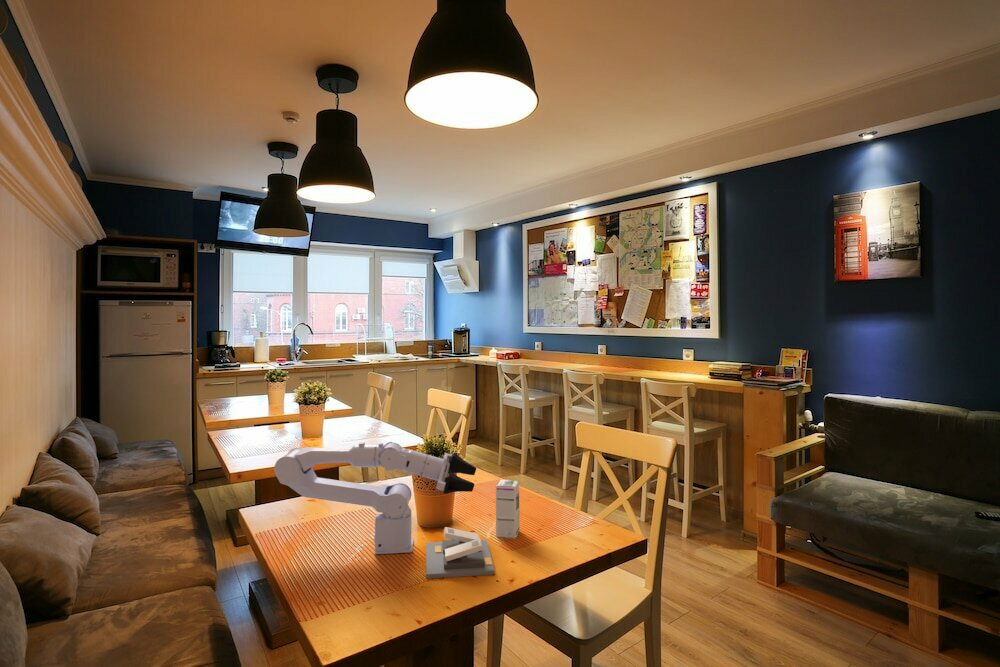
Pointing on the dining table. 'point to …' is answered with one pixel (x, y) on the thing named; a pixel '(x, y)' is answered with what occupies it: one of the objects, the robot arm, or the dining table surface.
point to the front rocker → (463, 549)
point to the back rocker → (459, 535)
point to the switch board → (457, 561)
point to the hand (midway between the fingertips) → (474, 479)
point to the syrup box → (507, 508)
